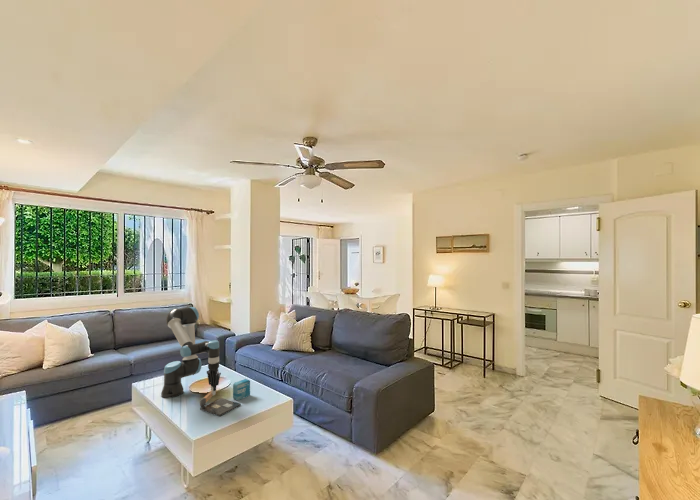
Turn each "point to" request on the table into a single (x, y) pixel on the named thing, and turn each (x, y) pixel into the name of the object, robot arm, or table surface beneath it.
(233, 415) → the table surface
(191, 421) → the table surface
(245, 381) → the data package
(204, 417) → the table surface
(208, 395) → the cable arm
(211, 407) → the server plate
